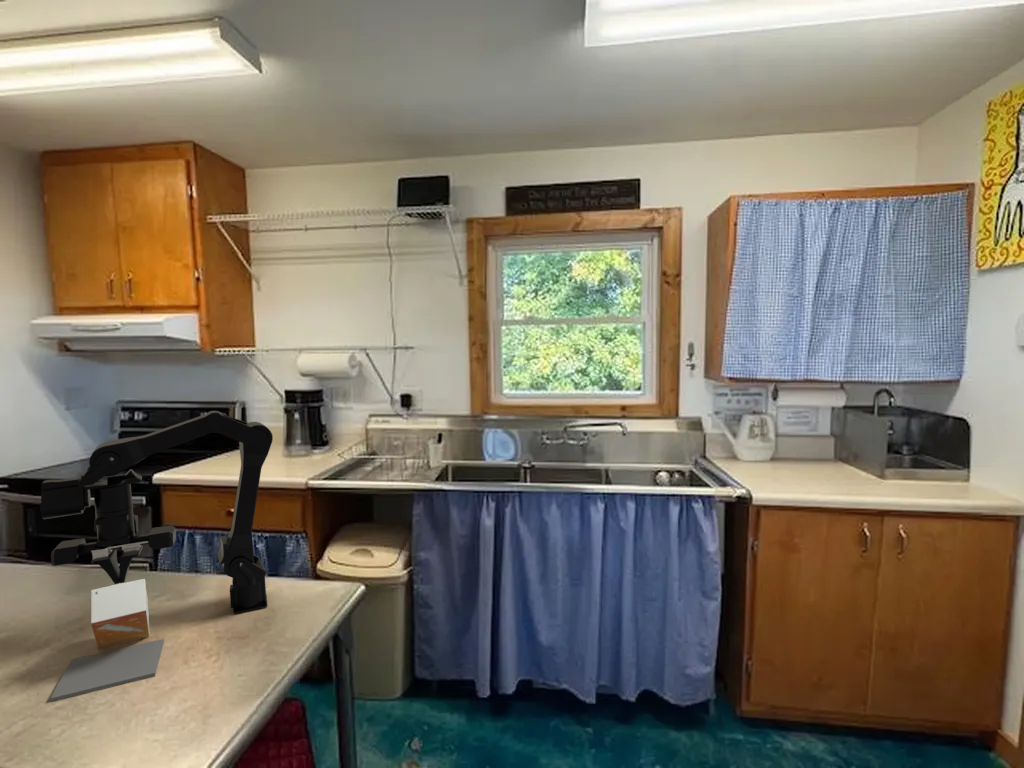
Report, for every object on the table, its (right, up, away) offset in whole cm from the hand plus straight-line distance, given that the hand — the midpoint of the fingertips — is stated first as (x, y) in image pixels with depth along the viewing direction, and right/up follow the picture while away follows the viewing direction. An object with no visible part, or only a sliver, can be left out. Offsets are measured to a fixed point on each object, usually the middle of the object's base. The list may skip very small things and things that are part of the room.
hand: (121, 587), depth 104 cm
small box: (0, -8, +1) cm, 8 cm away
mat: (+5, -11, -9) cm, 15 cm away
